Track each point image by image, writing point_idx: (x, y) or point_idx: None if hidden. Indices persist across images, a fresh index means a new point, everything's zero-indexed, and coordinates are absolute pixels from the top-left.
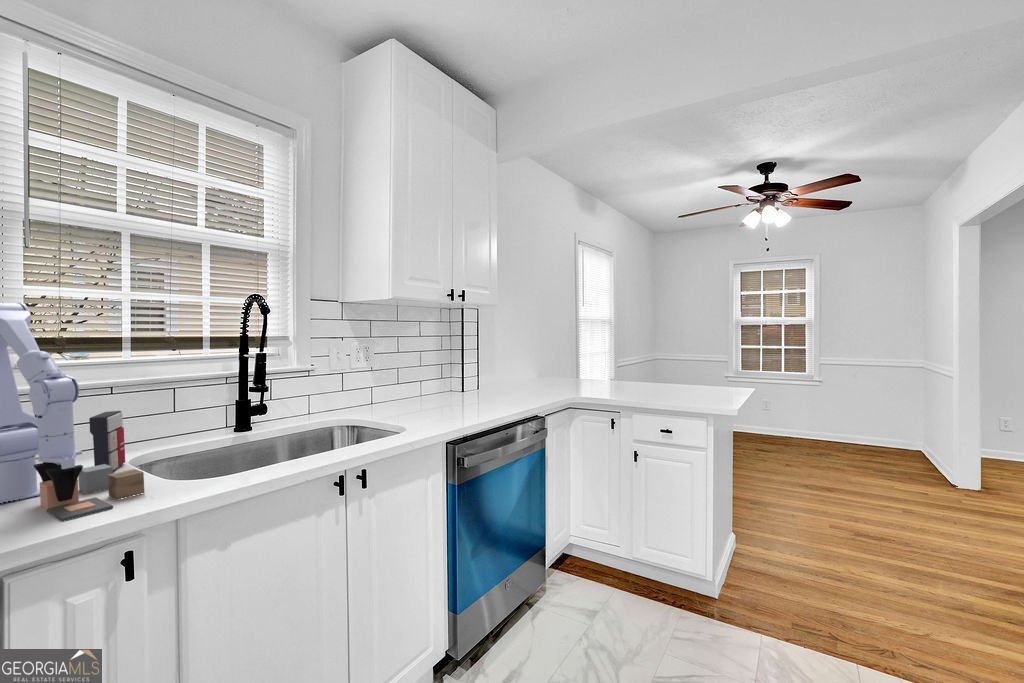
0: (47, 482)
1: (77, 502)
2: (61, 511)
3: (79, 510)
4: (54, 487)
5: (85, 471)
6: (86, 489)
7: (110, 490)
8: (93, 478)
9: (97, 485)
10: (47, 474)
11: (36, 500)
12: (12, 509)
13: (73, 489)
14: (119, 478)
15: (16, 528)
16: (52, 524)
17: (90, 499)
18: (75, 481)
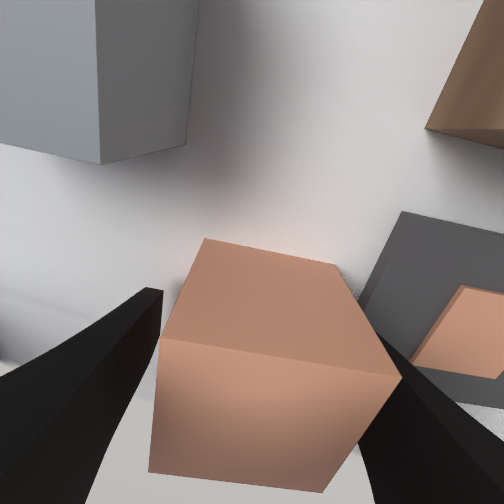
0: (206, 460)
1: (391, 303)
2: (438, 381)
3: None
4: (371, 469)
5: (30, 133)
6: (174, 145)
7: (501, 140)
8: (151, 74)
9: (180, 55)
10: (77, 497)
11: (65, 310)
12: (139, 390)
13: (414, 371)
14: None
15: None
16: (494, 417)
17: (419, 252)
18: (483, 431)
